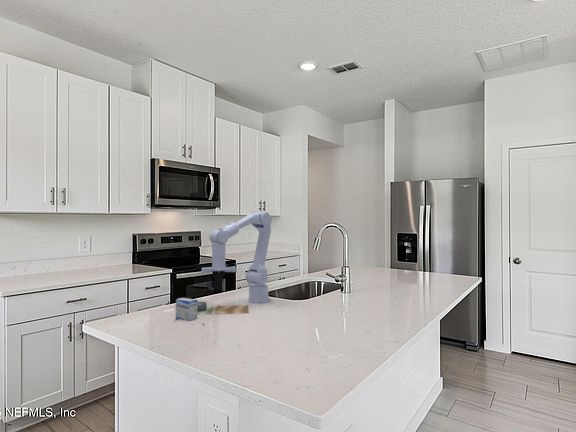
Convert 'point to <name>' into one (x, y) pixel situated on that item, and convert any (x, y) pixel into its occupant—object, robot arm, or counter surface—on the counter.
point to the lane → (225, 310)
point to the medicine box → (186, 309)
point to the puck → (202, 306)
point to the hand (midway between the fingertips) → (218, 288)
